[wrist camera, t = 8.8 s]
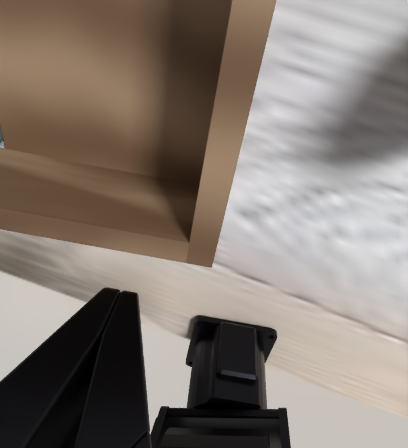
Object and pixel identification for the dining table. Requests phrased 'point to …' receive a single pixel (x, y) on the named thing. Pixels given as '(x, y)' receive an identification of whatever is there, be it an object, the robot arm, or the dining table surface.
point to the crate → (126, 119)
